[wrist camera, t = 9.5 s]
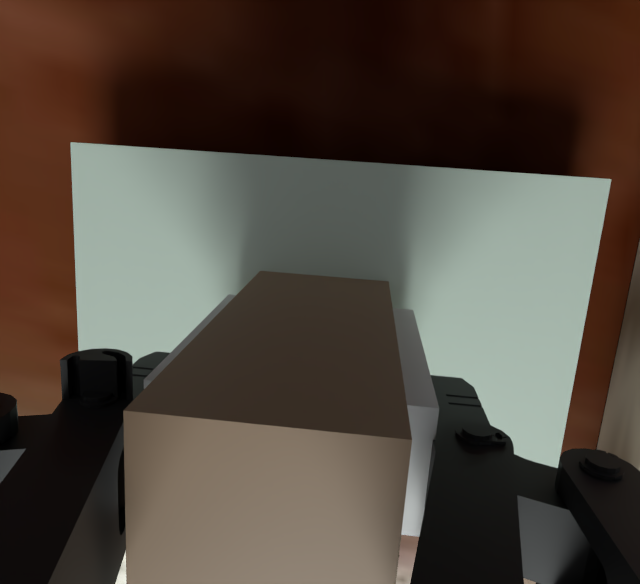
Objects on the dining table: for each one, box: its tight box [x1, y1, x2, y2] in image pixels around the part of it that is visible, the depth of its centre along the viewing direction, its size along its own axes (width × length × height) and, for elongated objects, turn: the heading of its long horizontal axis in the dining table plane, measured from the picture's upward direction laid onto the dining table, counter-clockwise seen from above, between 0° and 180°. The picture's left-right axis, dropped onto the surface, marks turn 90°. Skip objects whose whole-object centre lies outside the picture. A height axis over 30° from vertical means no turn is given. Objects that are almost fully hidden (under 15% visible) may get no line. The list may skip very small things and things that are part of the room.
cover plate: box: [71, 142, 611, 584], centre depth 14 cm, size 11×16×12 cm
